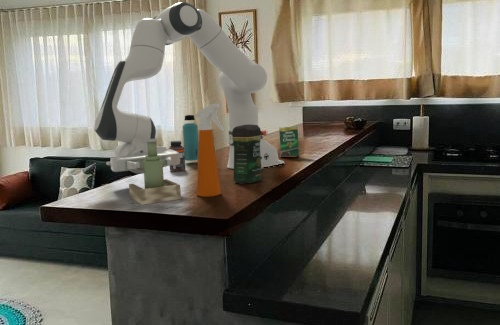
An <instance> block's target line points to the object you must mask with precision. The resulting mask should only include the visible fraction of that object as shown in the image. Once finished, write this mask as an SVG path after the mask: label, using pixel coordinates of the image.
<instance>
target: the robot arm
mask: <svg viewBox="0 0 500 325" xmlns="http://www.w3.org/2000/svg"><path fill="white" fill-rule="evenodd" d="M132 33H133V34H132V37H131V42H130V47H129V48H130V49H129V52H128V54H127V57H126V58H125V59H123V60H122V59H121V60H120V61H119V62H118V64H117V65H116V67H115V68H114V71H113V73H112V75H111V76H112V77H111V79H110V81H109V84H108V87H107V90H106V93H105V96H104V99H103V100H102V101H103V102H102V104H101V107H100V109H99V112H98V113H97V116H96V118H95V120H94V131H95V133H96V135H97V136H99V138H100V139H101V140H103V141H110V142H115V141H116V142H120V143H119V144H117V146H116V147H115V149H114V153H113V154H114V156H113V157H110V161H106V163H105V164H106V165H107V166H110V170H111V171H112V172H114V173H119V172H128V171H130V172H132V173H134V174H137V175H142V174H143V175H144V167H143V160H146V158H145V156H148V149H147V142H146V139H153V138H155V139H156V133H157V130H156V129H157V128H156V126H155V123H154V121H153V119H152V118H151V116H147V115H145V114H144V115H143V114H138V113H133V112H128V111H124V110H119V108H118V104H119V101H120V99H121V96H122V92H123V89H124V87H125V85H126V83H128V82H132V81H142V80H147V79H151V78H152V77H154V76H156V75H158V74H159V73H160V72H161V70H162V67H163V63H164V59H165V48H166V46H170V45H172V44H174V43H177V42H179V41H181V40H183V39H185V38H188V39H190V40H191V41H192V43H193V44H194V45H195V47H196V48H197V49H198V51H200V53H201V55H203V56H204V58H206V60H207V61H208V62H209V64H210V65H211V66H213V67H214V68H216V69H217V70H219V71H220V73H219V75H218V84H219V87H220V88H221V89H222V90H223V94H224V97H225V101H226V102H225V103H226V104H227V109H228V110H227V111H228V121H229V122H228V125H229V130H228V144H229V155H228V162H227V166H226V167H227V168H228V169H233V170H234V144H233V139H232V137H233V136H232V133H233V129H234V128H235V127H237V126H241V125H258V126H259V111H258V107H257V105H256V104H255V103H254V100H253V97H252V94H255V93H256V92H259V91H261V90H262V89H263V88H265V87H266V85H267V81H268V73H267V72H266V69H265V68H264V67H263V66H262V65H260V64H258V63H257V62H255V61H253V60H252V59H251V58H250V57H249V56H248V55H246V53H245V52H243V51H241V49H239V48H238V46H236V45H235V43H234V42H233V41H232V40H231V39H230V37H229V36H228V34H226V33H225V31H224V30H223V28H222V27H221V26H220V24H218V22H217V21H216V20H215V19H214V18H213V17H212V16H211V15H209V13H207V12H206V11H205V10H203V9H202V8H196V6H194V5H192V4H191V3H189V2H186V1H184V2H183V1H182V2H177V3H174V4H173V5H171V6H169V7H166V8H165V9H164V10H162V11H161V12H160V13H159V14H157V15H156V16H154V17H153V18H150V17H146V18H145V17H144V18H142V19H140V20H138V21H137V23H136V25H135V28H134V31H133V32H132ZM260 132H261V139H260V156H261V168H262V167H267V166H272V165H278V164H282V163H284V164H285V161H284V160H282V159H279V155H278V154H279V153H278V150H277V148H276V147H275V146H273V145H272V144H270V143H269V142H268V141H266V140H265V139H264V137H263V136H265V137H267V130H265V129H264V130H263V129H262V130H261V129H260ZM157 155H160V159H162V160H163V168H166V167H170V166H171V165H179V164H180V154H179V152H177V151H174V150H171V149H169V148H167V146H165V145H159V146H158V145H157ZM262 169H263V168H262Z"/></svg>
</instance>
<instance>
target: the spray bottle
mask: <svg viewBox="0 0 500 325" xmlns="http://www.w3.org/2000/svg"><path fill="white" fill-rule="evenodd" d="M220 107H221V106H220V103H211V104H208V105H206V106H205V107H203V108H202V109H199V110H198V111H197V113H196V114H195V115H194V117H196V119H199V123H198V127H199V128H198V139H199V148H198V160H197V175H196V176H197V180H196V181H197V182H196V195H197V196H198V197H203V198H205V197H206V198H210V197H216V196H220V195H221V194H222V191H221V184H220V176H219V169H218V161H217V156H216V155H217V154H216V149H215V148H216V147H215V142H214V134H213V128H212V127H213V126H212V125H213V124H212V122H211V120H212V121H213V122H214V124H215V125H216V126H217V128H218V129H220V131H222V132H225V129H224V126H223V125H222V124H221V122H220V119H219V117H218V109H219V108H220Z"/></svg>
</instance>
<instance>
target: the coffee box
mask: <svg viewBox="0 0 500 325" xmlns="http://www.w3.org/2000/svg"><path fill="white" fill-rule="evenodd" d="M278 129H279V130H278V131H279V149H280V157H281V156H299V157H300V148H299V147H300V145H299V128H298V126H284V127H283V126H281V127H279V128H278Z"/></svg>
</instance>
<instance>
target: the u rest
mask: <svg viewBox="0 0 500 325" xmlns="http://www.w3.org/2000/svg"><path fill="white" fill-rule="evenodd" d="M128 188H129V198H130V199H131V200H133V201H135V202H136V203H138V204H140V205H141V206H144V205H148V204H155V203H163V202H169V201H176V200H181V199H182V193H181V191H182V190H181V184H179V183H177V182H174V181H172V180H169V179H166V178H165V179H164V186H162V187H155V188H148V189H145V188H142V187H140V186H138V185H136V184H134V183H128Z"/></svg>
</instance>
